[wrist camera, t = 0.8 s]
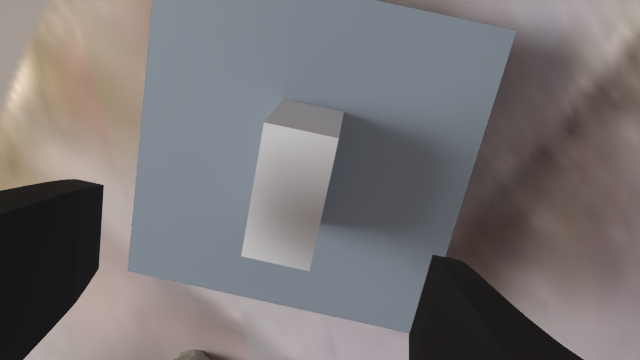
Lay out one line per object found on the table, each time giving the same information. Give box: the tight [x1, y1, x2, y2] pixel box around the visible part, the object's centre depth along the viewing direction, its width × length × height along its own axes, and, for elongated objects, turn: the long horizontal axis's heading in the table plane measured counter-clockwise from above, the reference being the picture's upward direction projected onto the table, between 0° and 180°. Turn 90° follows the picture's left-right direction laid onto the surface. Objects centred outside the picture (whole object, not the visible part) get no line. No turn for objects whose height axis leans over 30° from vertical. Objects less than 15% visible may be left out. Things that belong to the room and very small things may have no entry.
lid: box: [128, 0, 517, 333], centre depth 17 cm, size 11×11×4 cm
